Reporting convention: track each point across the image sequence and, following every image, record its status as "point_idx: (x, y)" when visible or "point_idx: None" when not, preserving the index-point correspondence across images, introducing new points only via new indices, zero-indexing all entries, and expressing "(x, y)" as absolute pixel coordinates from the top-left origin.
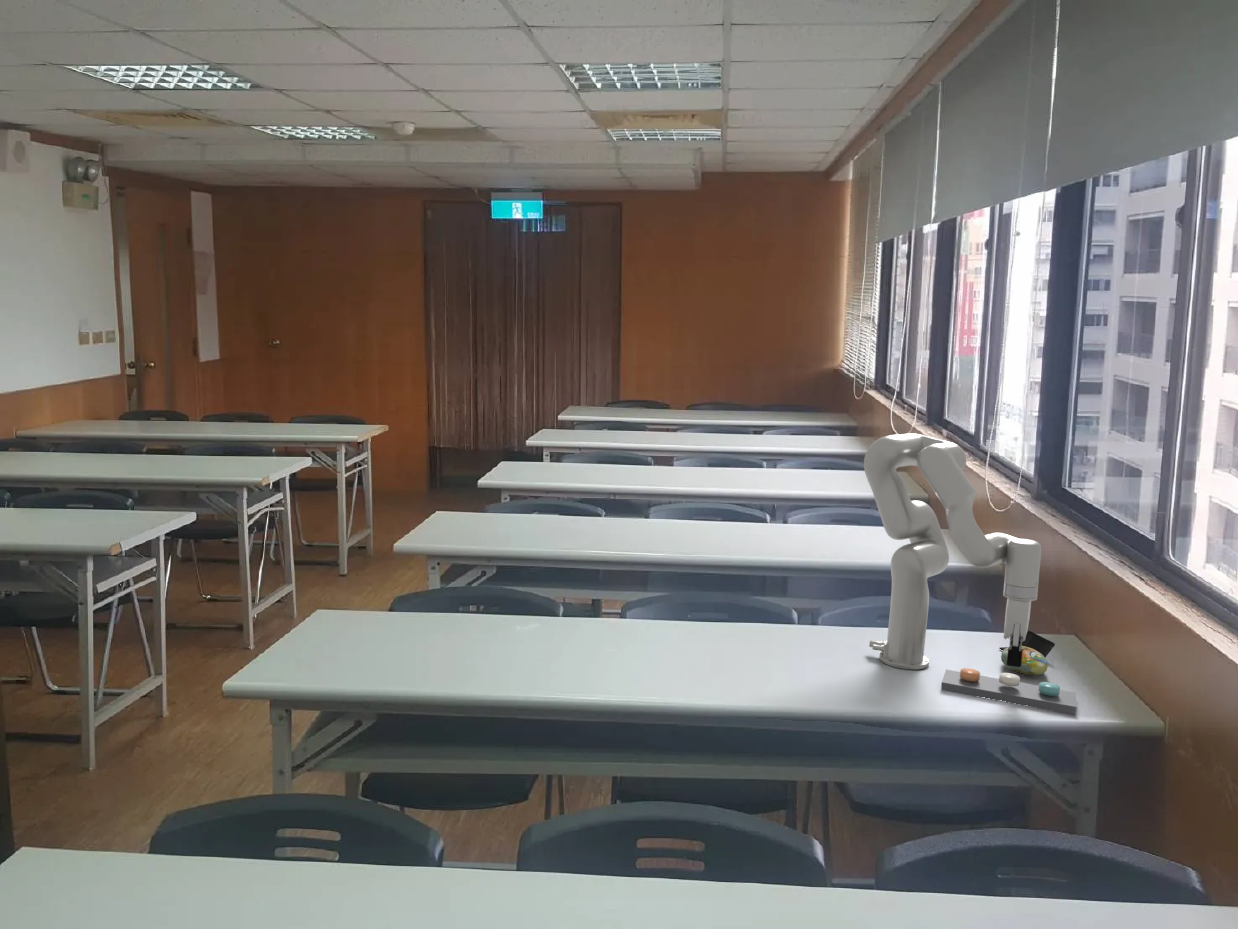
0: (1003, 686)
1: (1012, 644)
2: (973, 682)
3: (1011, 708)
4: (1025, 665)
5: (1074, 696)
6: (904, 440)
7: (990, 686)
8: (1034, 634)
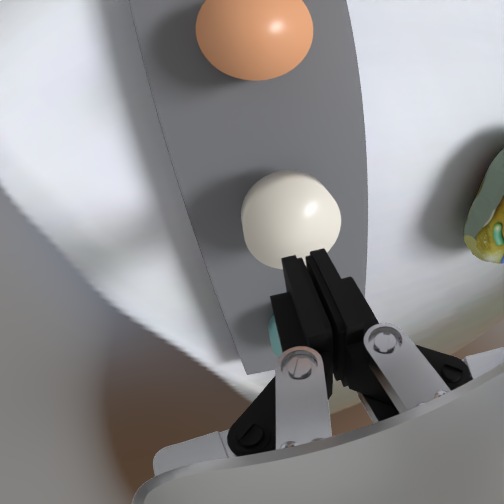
0: None
1: (229, 440)
2: None
3: (149, 237)
4: (485, 221)
5: None
6: None
7: (235, 138)
8: None
